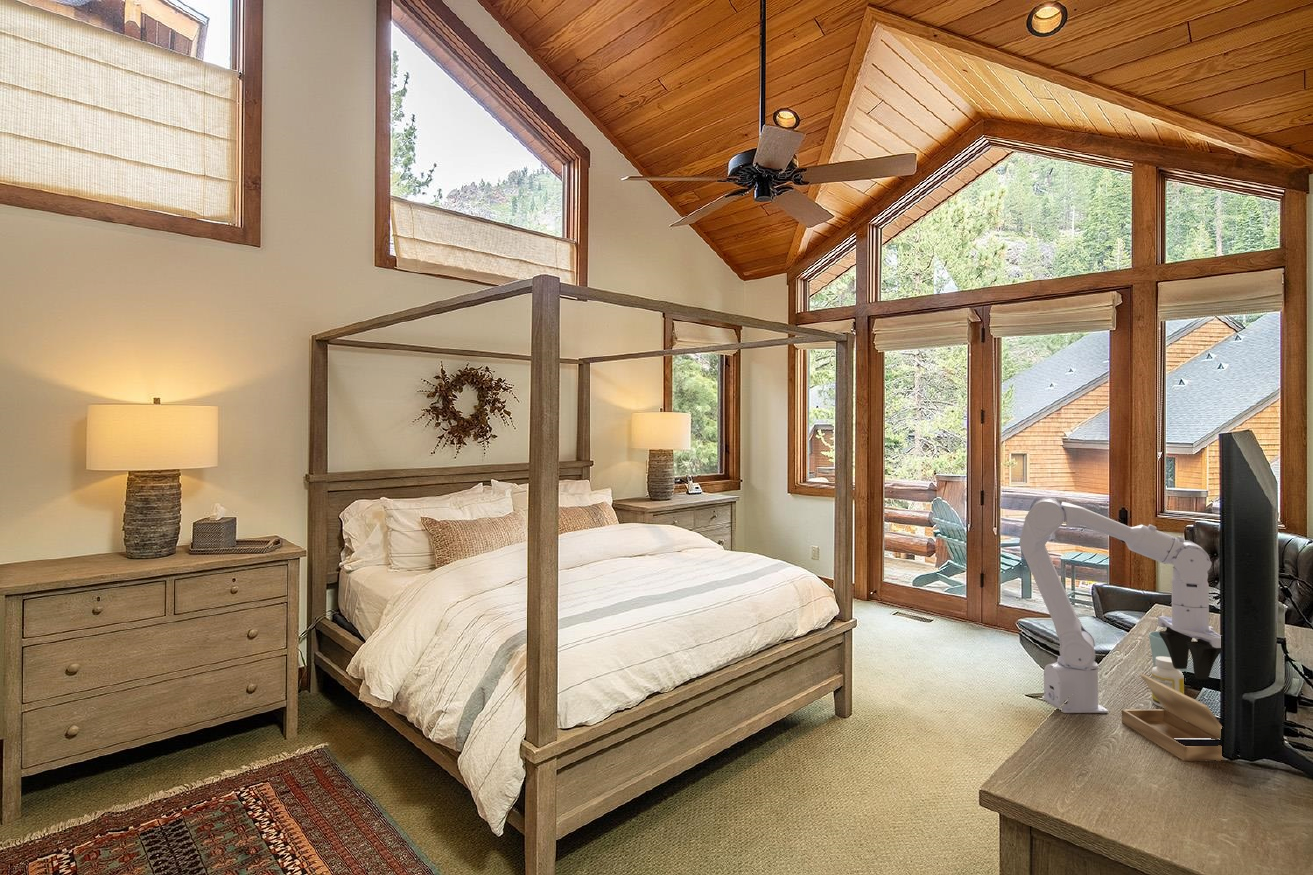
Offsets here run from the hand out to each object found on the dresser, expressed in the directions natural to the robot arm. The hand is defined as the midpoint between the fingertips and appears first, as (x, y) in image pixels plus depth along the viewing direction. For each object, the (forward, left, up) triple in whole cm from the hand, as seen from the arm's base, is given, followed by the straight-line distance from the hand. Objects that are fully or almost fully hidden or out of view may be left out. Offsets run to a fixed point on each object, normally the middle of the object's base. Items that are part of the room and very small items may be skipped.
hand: (1190, 673), depth 131 cm
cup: (+14, +24, -11) cm, 30 cm away
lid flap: (-6, -6, -4) cm, 10 cm away
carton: (-8, -6, -10) cm, 14 cm away
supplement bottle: (+3, +10, -11) cm, 15 cm away
